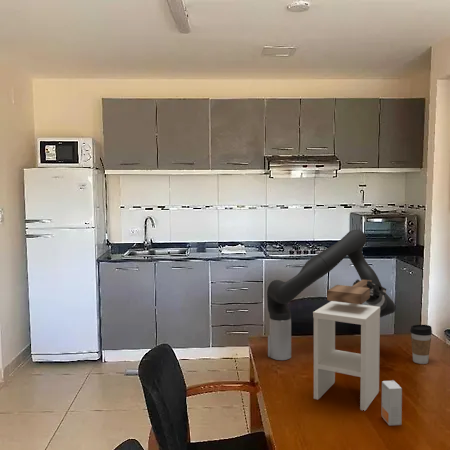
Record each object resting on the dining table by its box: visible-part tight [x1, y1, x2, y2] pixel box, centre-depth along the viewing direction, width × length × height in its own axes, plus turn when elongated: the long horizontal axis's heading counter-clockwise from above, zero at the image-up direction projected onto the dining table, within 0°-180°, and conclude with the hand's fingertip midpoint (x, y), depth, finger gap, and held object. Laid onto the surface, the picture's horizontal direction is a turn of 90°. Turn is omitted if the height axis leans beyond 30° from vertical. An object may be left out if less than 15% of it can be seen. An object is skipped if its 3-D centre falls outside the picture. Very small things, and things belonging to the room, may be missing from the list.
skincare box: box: [381, 380, 403, 426], centre depth 154 cm, size 6×4×12 cm
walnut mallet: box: [326, 279, 372, 305], centre depth 178 cm, size 12×28×4 cm, turn 148°
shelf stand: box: [312, 301, 381, 412], centre depth 172 cm, size 18×18×31 cm
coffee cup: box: [409, 324, 433, 365], centre depth 203 cm, size 8×8×15 cm
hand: (362, 282), depth 185 cm, fingers closed on walnut mallet, 3 cm apart
